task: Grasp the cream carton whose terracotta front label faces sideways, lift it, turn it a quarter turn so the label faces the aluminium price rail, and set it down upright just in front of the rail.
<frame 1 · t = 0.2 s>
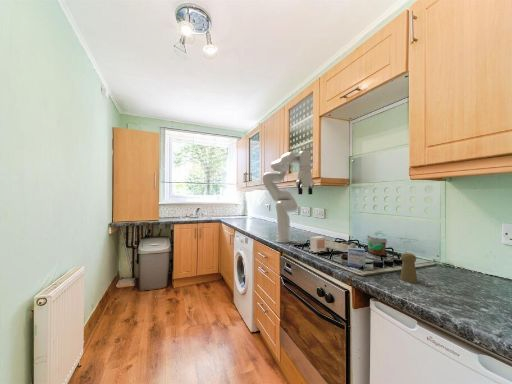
hand: (305, 194, 151), 36 cm above the worktop, tool pointing down, fingers open, 9 cm apart
food container: (374, 254, 134), on the worktop
cream carton: (317, 251, 141), on the worktop
medicine box: (356, 266, 112), on the worktop
cork: (408, 280, 93), on the worktop
price rail: (333, 248, 147), on the worktop
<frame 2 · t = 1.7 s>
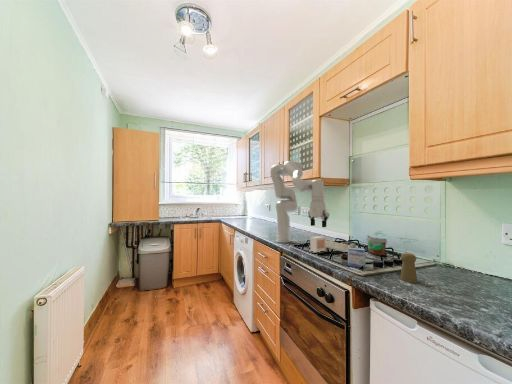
hand: (318, 226, 141), 16 cm above the worktop, tool pointing down, fingers open, 9 cm apart
nothing on the worktop moved.
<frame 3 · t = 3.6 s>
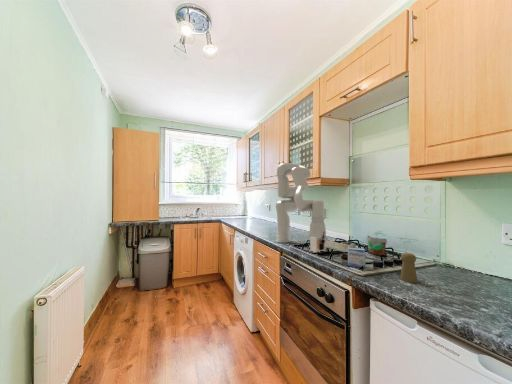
hand: (318, 248, 141), 2 cm above the worktop, tool pointing down, fingers closed on cream carton, 5 cm apart
cream carton: (317, 251, 141), on the worktop, touching gripper
everything else where it was.
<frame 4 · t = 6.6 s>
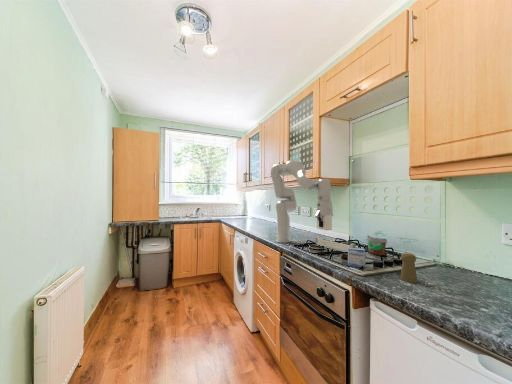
hand: (324, 226, 143), 15 cm above the worktop, tool pointing down, fingers closed on cream carton, 5 cm apart
cream carton: (324, 229, 143), point 14 cm above the worktop, touching gripper
everything else where it was.
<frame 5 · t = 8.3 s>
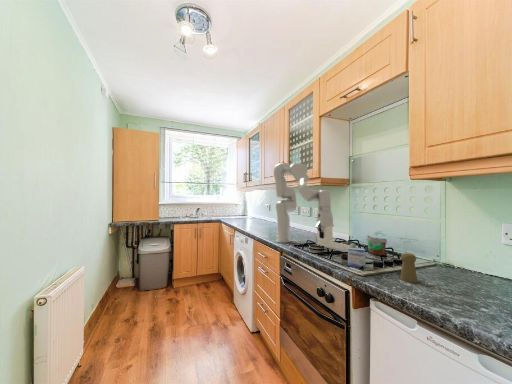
hand: (325, 237, 143), 9 cm above the worktop, tool pointing down, fingers closed on cream carton, 5 cm apart
cream carton: (324, 240, 142), point 7 cm above the worktop, touching gripper
everything else where it was.
when the fingers open (3 cm above the worktop, at t = 9.7 s): cream carton drops 1 cm, on the worktop.
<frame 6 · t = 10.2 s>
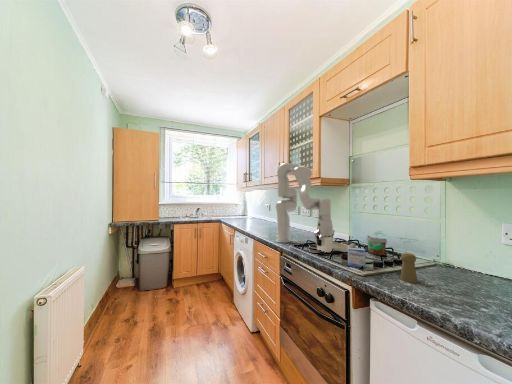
hand: (324, 244, 143), 4 cm above the worktop, tool pointing down, fingers open, 9 cm apart
cream carton: (324, 250, 143), on the worktop
everything else where it was.
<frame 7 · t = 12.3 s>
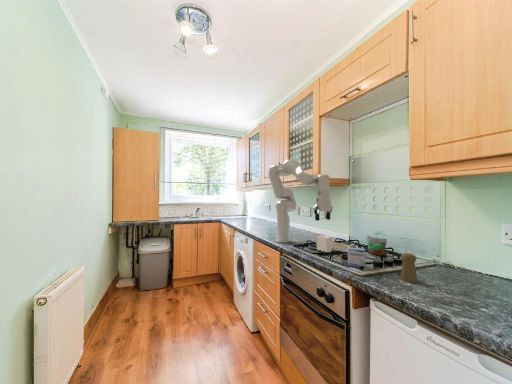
hand: (322, 219, 145), 19 cm above the worktop, tool pointing down, fingers open, 9 cm apart
nothing on the worktop moved.
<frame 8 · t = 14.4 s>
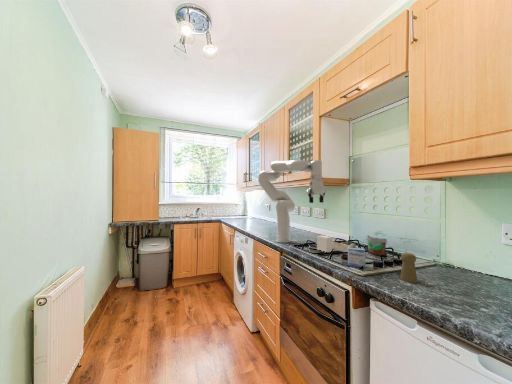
hand: (316, 202, 156), 30 cm above the worktop, tool pointing down, fingers open, 9 cm apart
nothing on the worktop moved.
at the end: cream carton inside the target area (0.6 cm from its centre), on the worktop; cream carton tilted 0°; the gripper is holding nothing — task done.
